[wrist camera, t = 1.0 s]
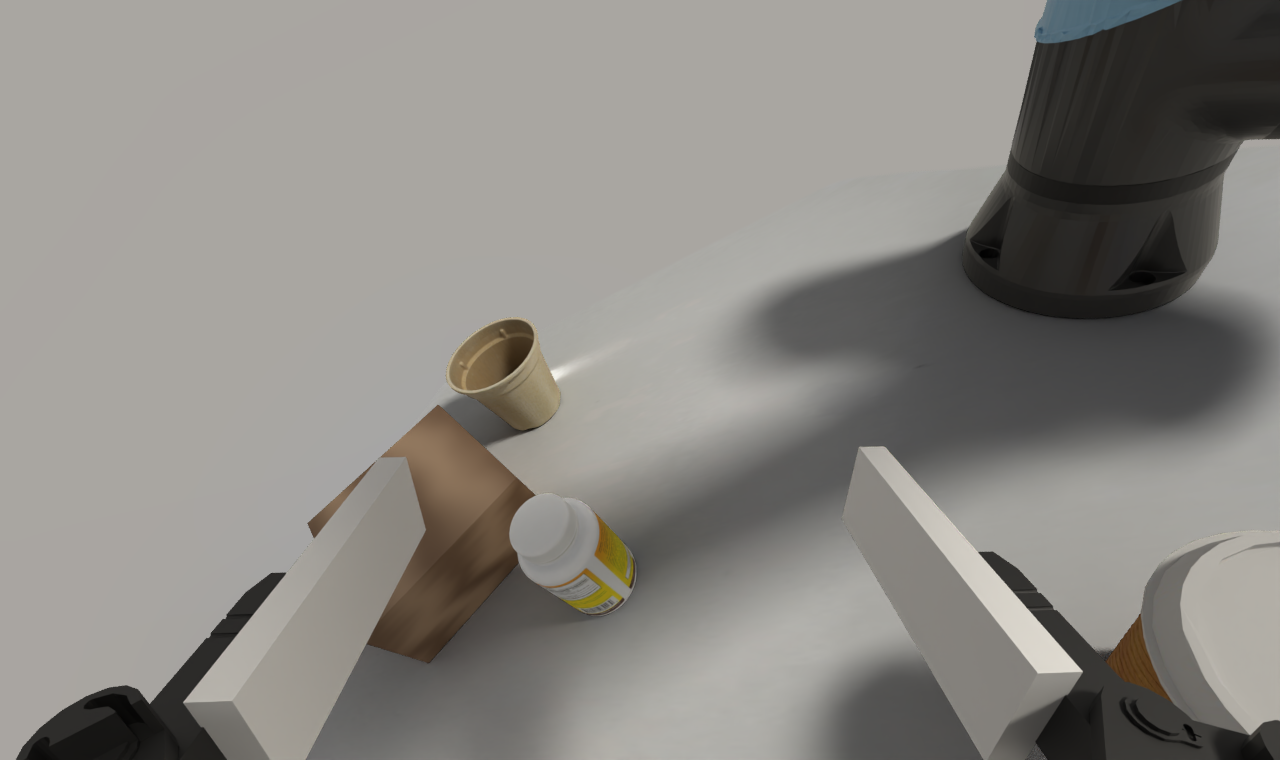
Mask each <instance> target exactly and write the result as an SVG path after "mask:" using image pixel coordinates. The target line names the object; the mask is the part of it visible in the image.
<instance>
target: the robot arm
mask: <svg viewBox="0 0 1280 760" xmlns="http://www.w3.org/2000/svg"><path fill="white" fill-rule="evenodd" d="M1034 37H1035V38H1036V41H1037V43H1036V47H1035V51H1034V55H1033V60H1032V64H1031V68H1030V72H1029V77H1028V81H1027V85H1026V89H1025V94H1024V98H1023V102H1022V106H1021V111H1020V115H1019V118H1018V123H1017V126H1016V130H1015V134H1014V138H1013V142H1012V148H1011V151H1010V155H1009V160H1008V164H1007V167H1006V170H1005V172H1004V173H1003V175H1002V176H1001V178H1000V180H999V181H998V183H997V184H996V186H995V187H994V189H993V190H992V192H991V193H990V195H989V196H988V198H987V200H986V201H985V203H984V204H983V206H982V207H981V209H980V210H979V212H978V213H977V215H976V216H975V218H974V219H973V221H972V223H971V225H970V227H969V229H968V232H967V234H966V239H965V244H964V249H963V255H962V261H963V267H964V269H965V272H966V273H967V275H968V277H969V278H970V279H971V281H972V282H973V283H974V284H975V285H976V286H977V287H978V288H980V289H981V290H982V291H984V292H985V293H986V294H988V295H990V296H991V297H993V298H995V299H997V300H999V301H1001V302H1003V303H1005V304H1008V305H1011V306H1013V307H1016V308H1019V309H1023V310H1026V311H1030V312H1034V313H1039V314H1044V315H1050V316H1057V317H1067V318H1106V317H1116V316H1123V315H1129V314H1134V313H1138V312H1143V311H1146V310H1150V309H1153V308H1156V307H1159V306H1161V305H1163V304H1166V303H1168V302H1170V301H1172V300H1174V299H1176V298H1177V297H1179V296H1181V295H1182V294H1184V293H1185V292H1186V291H1188V290H1189V289H1190V288H1191V287H1192V286H1193V285H1194V284H1195V283H1196V281H1197V280H1198V278H1199V277H1200V275H1201V274H1202V272H1203V271H1204V269H1205V268H1206V266H1207V265H1208V263H1209V262H1210V260H1211V259H1212V257H1213V255H1214V253H1215V250H1216V247H1217V244H1218V237H1219V225H1220V214H1221V202H1222V191H1223V179H1224V173H1225V171H1226V170H1227V168H1228V166H1229V164H1230V162H1231V161H1232V159H1233V157H1234V156H1235V154H1236V152H1237V150H1238V149H1239V147H1240V145H1241V144H1242V143H1243V141H1244V140H1250V139H1251V140H1252V139H1280V0H1047V3H1046V7H1045V10H1044V13H1043V16H1042V18H1041V19H1040V20H1039V22H1038V24H1037V26H1036V30H1035V36H1034ZM842 521H843V522H844V524H845V526H846V527H847V529H848V531H849V532H850V534H851V536H852V538H853V539H854V541H855V543H856V544H857V546H858V548H859V549H860V551H861V553H862V555H863V556H864V558H865V560H866V561H867V563H868V565H869V566H870V568H871V570H872V571H873V573H874V575H875V577H876V578H877V580H878V582H879V583H880V585H881V587H882V588H883V590H884V592H885V594H886V595H887V597H888V599H889V600H890V602H891V604H892V605H893V607H894V609H895V610H896V612H897V614H898V616H899V617H900V619H901V621H902V622H903V624H904V626H905V627H906V629H907V631H908V633H909V634H910V636H911V638H912V639H913V641H914V643H915V644H916V646H917V648H918V650H919V651H920V653H921V655H922V656H923V658H924V660H925V661H926V663H927V665H928V666H929V668H930V670H931V672H932V673H933V675H934V677H935V678H936V680H937V682H938V683H939V685H940V687H941V689H942V690H943V692H944V694H945V695H946V697H947V699H948V700H949V702H950V704H951V705H952V707H953V709H954V711H955V712H956V714H957V716H958V717H959V719H960V721H961V722H962V724H963V726H964V728H965V729H966V731H967V733H968V734H969V736H970V738H971V739H972V741H973V743H974V744H975V746H976V748H977V750H978V751H979V753H980V755H981V756H982V758H983V760H1026V758H1027V757H1028V755H1029V754H1030V752H1031V751H1032V749H1033V748H1034V746H1035V745H1036V744H1037V745H1038V746H1039V748H1040V749H1041V751H1042V752H1043V754H1044V755H1045V756H1046V758H1047V759H1048V760H1280V721H1279V720H1272V721H1268V722H1263V723H1262V724H1261V725H1260V726H1259V727H1258V728H1257V729H1256V730H1255V731H1254V732H1253V733H1252V734H1251V735H1247V734H1243V733H1239V732H1236V731H1232V730H1228V729H1224V728H1220V727H1217V726H1213V725H1209V724H1205V723H1202V722H1198V721H1194V720H1192V719H1191V718H1190V717H1189V716H1188V715H1187V714H1186V713H1184V712H1183V711H1182V710H1181V709H1179V708H1178V707H1177V706H1175V705H1174V704H1173V703H1172V702H1170V701H1169V700H1167V699H1166V698H1164V697H1162V696H1160V695H1158V694H1157V693H1155V692H1153V691H1151V690H1150V689H1147V688H1144V687H1142V686H1139V685H1136V684H1133V683H1130V682H1125V681H1124V680H1123V679H1122V678H1120V677H1119V676H1118V675H1117V674H1116V673H1115V672H1114V670H1113V669H1112V668H1111V667H1110V666H1109V665H1108V664H1107V663H1106V662H1105V661H1104V660H1103V659H1102V658H1101V657H1100V656H1099V655H1098V653H1097V652H1096V651H1095V650H1094V649H1093V648H1092V647H1091V646H1090V645H1089V644H1088V643H1087V642H1086V641H1085V640H1084V639H1083V638H1082V636H1081V635H1080V634H1079V633H1078V632H1077V631H1076V630H1075V629H1074V628H1073V627H1072V626H1071V625H1070V624H1069V623H1068V622H1067V621H1066V619H1065V618H1064V617H1063V616H1062V615H1061V614H1060V613H1059V612H1058V611H1057V610H1054V609H1053V606H1052V605H1051V604H1050V602H1049V601H1048V600H1047V599H1046V598H1045V597H1044V596H1043V595H1042V594H1041V593H1038V592H1037V589H1036V588H1035V587H1034V585H1033V584H1032V583H1031V582H1030V581H1029V580H1028V579H1027V578H1026V577H1025V576H1024V575H1023V574H1022V573H1021V572H1020V571H1019V570H1018V569H1017V568H1016V567H1014V566H1013V565H1012V564H1010V563H1009V562H1007V561H1006V560H1004V559H1003V558H1001V557H1000V556H999V555H997V554H996V553H994V552H977V551H976V550H975V549H974V547H973V546H972V545H971V544H970V543H969V542H968V541H967V539H966V538H965V537H964V536H963V535H962V534H961V533H960V531H959V530H958V529H957V528H956V527H955V526H954V525H953V524H952V522H951V521H950V520H949V519H948V518H947V517H946V516H945V514H944V513H943V512H942V511H941V510H940V509H939V508H938V506H937V505H936V504H935V503H934V502H933V501H932V500H931V499H930V497H929V496H928V495H927V494H926V493H925V492H924V491H923V489H922V488H921V487H920V486H919V485H918V484H917V483H916V481H915V480H914V479H913V478H912V477H911V476H910V475H909V474H908V472H907V471H906V470H905V469H904V468H903V467H902V466H901V464H900V463H899V462H898V461H897V460H896V459H895V458H894V456H893V455H892V454H891V453H890V452H889V451H888V450H887V449H886V447H885V446H878V447H859V448H858V452H857V457H856V461H855V465H854V469H853V473H852V478H851V482H850V486H849V490H848V494H847V499H846V503H845V507H844V511H843V516H842ZM425 531H426V528H425V524H424V521H423V517H422V513H421V510H420V506H419V502H418V499H417V495H416V491H415V488H414V484H413V480H412V477H411V473H410V469H409V466H408V462H407V458H406V457H384V458H378V460H377V461H376V462H375V463H374V465H373V466H372V467H371V468H370V470H369V471H368V472H367V473H366V475H365V476H364V477H363V478H362V480H361V481H360V482H359V483H358V485H357V486H356V487H355V488H354V490H353V491H352V492H351V493H350V495H349V496H348V497H347V498H346V500H345V501H344V502H343V503H342V505H341V506H340V507H339V508H338V510H337V511H336V512H335V513H334V515H333V516H332V517H331V518H330V520H329V521H328V522H327V523H326V525H325V526H324V527H323V528H322V530H321V531H320V532H319V533H318V535H317V536H316V537H315V538H314V540H313V541H312V542H311V543H310V545H309V546H308V547H307V549H306V550H305V551H304V552H303V553H302V555H301V556H300V557H299V558H298V560H297V561H296V562H295V563H294V565H293V566H292V567H291V568H290V570H289V571H288V572H287V573H271V574H269V575H268V576H267V577H265V578H264V579H263V580H261V581H260V582H259V583H258V584H256V585H255V586H254V587H252V588H251V589H250V590H248V591H247V592H246V593H245V594H244V595H243V596H242V597H241V599H240V600H239V601H238V602H237V603H236V604H235V606H234V607H233V608H232V609H231V610H230V611H229V613H228V614H227V617H226V619H223V620H222V621H221V622H220V623H219V624H218V625H217V626H216V628H215V629H214V630H213V631H212V632H211V636H210V638H206V639H205V640H204V642H203V643H202V644H201V645H200V646H199V647H198V649H197V650H196V651H195V652H194V653H193V655H192V656H191V657H190V658H189V659H188V660H187V661H186V663H185V664H184V665H183V666H182V667H181V669H180V670H179V671H178V672H177V673H176V674H175V675H174V677H173V678H172V679H171V680H170V681H169V682H168V684H167V685H166V686H165V687H164V688H163V689H162V691H161V692H160V693H159V694H158V695H157V696H156V698H155V699H154V700H153V701H152V702H151V703H150V704H149V703H148V702H147V700H146V699H145V698H144V697H143V695H142V694H141V693H140V691H139V690H138V689H135V688H132V687H129V686H118V687H111V688H107V689H104V690H101V691H99V692H96V693H94V694H91V695H89V696H86V697H84V698H83V699H81V700H79V701H78V702H76V703H74V704H72V705H70V706H69V707H67V708H65V709H64V710H62V711H61V712H59V713H58V714H57V715H56V716H54V717H53V718H52V719H51V720H50V721H48V722H47V723H46V724H44V725H43V726H42V727H41V728H39V730H38V731H37V732H36V733H35V734H34V735H33V736H32V737H31V739H29V741H28V742H27V743H26V744H25V745H24V746H23V747H22V749H21V751H20V753H19V755H18V757H17V759H16V760H306V758H307V756H308V754H309V752H310V751H311V749H312V747H313V745H314V743H315V741H316V739H317V737H318V735H319V733H320V731H321V730H322V728H323V726H324V724H325V722H326V720H327V718H328V716H329V714H330V712H331V710H332V709H333V707H334V705H335V703H336V701H337V699H338V697H339V695H340V693H341V691H342V689H343V688H344V686H345V684H346V682H347V680H348V678H349V676H350V674H351V672H352V670H353V668H354V667H355V665H356V663H357V661H358V659H359V657H360V655H361V653H362V651H363V649H364V647H365V646H366V644H367V642H368V640H369V638H370V636H371V634H372V632H373V630H374V628H375V626H376V625H377V623H378V621H379V619H380V617H381V615H382V613H383V611H384V609H385V607H386V605H387V604H388V602H389V600H390V598H391V596H392V594H393V592H394V590H395V588H396V586H397V584H398V583H399V581H400V579H401V577H402V575H403V573H404V571H405V569H406V567H407V565H408V563H409V562H410V560H411V558H412V556H413V554H414V552H415V550H416V548H417V546H418V544H419V542H420V541H421V539H422V537H423V535H424V533H425Z"/></svg>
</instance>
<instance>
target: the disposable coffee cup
mask: <svg viewBox="0 0 1280 760" xmlns="http://www.w3.org/2000/svg"><path fill="white" fill-rule="evenodd" d="M1105 662H1106V663H1107V664H1108V665H1109V666H1110V667H1111V668H1112V669H1113V670H1114V672H1115V673H1116V674H1117V675H1118V676H1119V677H1120V678H1122V679H1123V680H1124V681H1125V682H1130V683H1133V684H1136V685H1139V686H1142V687H1144V688H1147V689H1150V690H1151V691H1153V692H1155V693H1157V694H1158V695H1160V696H1162V697H1164V698H1166V699H1167V700H1169V701H1170V702H1172V703H1173V704H1174V705H1175V706H1177V707H1178V708H1179V709H1181V710H1182V711H1183V712H1184V713H1186V714H1187V715H1188V716H1189V717H1190V718H1191V719H1192V720H1194V721H1198V722H1202V723H1205V724H1209V725H1213V726H1217V727H1220V728H1224V729H1228V730H1232V731H1236V732H1239V733H1243V734H1247V735H1251V734H1252V733H1253V732H1254V731H1255V730H1256V729H1257V728H1258V727H1259V726H1260V725H1261V724H1262V723H1263V722H1268V721H1272V720H1279V721H1280V531H1255V530H1249V531H1239V532H1229V533H1220V534H1217V535H1213V536H1209V537H1206V538H1202V539H1198V540H1194V541H1192V542H1190V543H1189V544H1187V545H1185V546H1183V547H1181V548H1180V549H1178V550H1176V551H1174V552H1172V553H1171V554H1170V555H1169V556H1168V557H1167V558H1166V559H1165V560H1164V561H1162V562H1161V563H1160V564H1159V566H1158V567H1157V569H1156V570H1155V572H1154V573H1153V575H1152V576H1151V578H1150V580H1149V581H1148V583H1147V585H1146V586H1145V591H1144V597H1143V603H1142V609H1141V614H1139V617H1138V618H1137V620H1136V621H1135V623H1134V624H1132V625H1131V628H1129V630H1128V632H1127V633H1126V634H1125V635H1124V637H1123V638H1122V639H1121V640H1120V643H1118V645H1117V647H1116V648H1115V649H1114V651H1113V652H1112V653H1111V655H1110V656H1109V657H1108V659H1107V660H1106V661H1105Z"/></svg>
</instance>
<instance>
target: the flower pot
mask: <svg viewBox="0 0 1280 760" xmlns="http://www.w3.org/2000/svg"><path fill="white" fill-rule="evenodd" d="M446 380H447V383H448V384H449V386H450V387H451V388H452V389H453V390H455V391H456V392H458V393H461V394H465V395H467V396H469V397H471V398H473V399H477V400H478V401H479V402H481V403H482V404H483V405H485V406H486V407H487V408H489V409H490V410H491V411H493V412H494V413H495V414H497V415H498V416H499V417H501V418H502V419H503V420H504V421H506V422H507V423H508V424H510V425H511V426H512V427H513V428H515V429H518V430H526V429H529V428H535V427H539V426H541V425H543V424H544V423H545V422H547V421H548V420H549V419H550V418H551V417H552V416H553V415H554V414H555V412H556V411H557V409H558V407H559V405H560V395H561V393H560V390H559V388H558V386H557V384H556V382H555V380H554V378H553V376H552V374H551V372H550V370H549V368H548V366H547V364H546V362H545V359H544V357H543V355H542V353H541V351H540V344H539V341H538V333H537V330H536V328H535V326H534V324H532V322H530V321H529V320H527V319H524V318H519V317H513V318H511V317H510V318H504V319H500V320H497V321H494V322H492V323H489V324H488V325H486V326H483V327H482V328H480V329H479V330H477V331H476V332H474V333H473V334H472V335H470V336H469V337H468V338H467V339H466V340H465V341H464V342H463V343H462V344H461V345H460V346H459V347H458V348H457V349H456V351H455V352H454V353H453V355H452V357H451V359H450V361H449V363H448V365H447V369H446Z"/></svg>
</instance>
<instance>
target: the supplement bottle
mask: <svg viewBox="0 0 1280 760" xmlns="http://www.w3.org/2000/svg"><path fill="white" fill-rule="evenodd" d="M509 537H510V542H511V545H512V547H513V548H514V550H515V551H516V552H517V555H518V561H519V564H520V567H521V569H522V570H523V572H524V573H525V575H526V576H527V577H528V578H529V579H531V580H532V581H533V582H535V583H536V584H538V585H539V586H541V587H543V588H544V589H546V590H547V591H549V592H550V593H552V594H554V595H555V596H557V597H558V598H560V599H561V600H563V601H565V602H566V603H568V604H569V605H571V606H572V607H574V608H576V609H577V610H579V611H580V612H582V613H584V614H587V615H591V616H603V615H607V614H610V613H612V612H614V611H615V610H617V609H618V608H620V607H621V606H622V605H623V604H624V603H625V602H626V600H627V599H628V598H629V596H630V595H631V593H632V591H633V588H634V585H635V582H636V575H637V569H636V562H635V559H634V556H633V554H632V552H631V551H630V550H629V548H628V547H627V546H626V545H625V544H624V543H623V542H622V541H621V540H620V539H619V538H618V536H617V535H616V534H615V533H614V532H613V531H612V530H611V529H610V528H609V527H608V526H607V525H606V524H605V523H604V522H603V521H602V520H601V519H600V517H599V516H598V515H597V514H596V513H595V512H594V511H593V510H592V509H591V508H590V507H589V506H588V505H587V504H585V503H584V502H582V501H580V500H578V499H574V498H561V497H560V496H558V495H556V494H552V493H543V494H539V495H536V496H534V497H532V498H530V499H529V500H527V501H526V502H525V503H524V504H523V505H522V506H521V507H520V508H519V509H518V511H517V512H516V514H515V515H514V517H513V519H512V522H511V525H510V531H509Z"/></svg>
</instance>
